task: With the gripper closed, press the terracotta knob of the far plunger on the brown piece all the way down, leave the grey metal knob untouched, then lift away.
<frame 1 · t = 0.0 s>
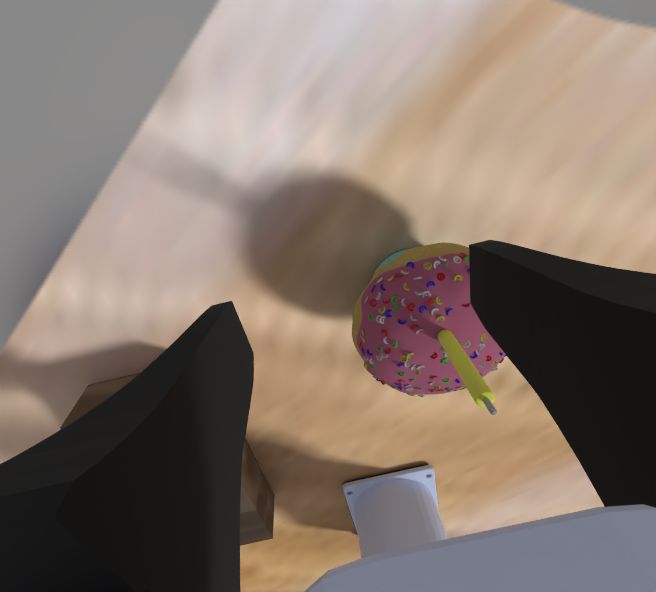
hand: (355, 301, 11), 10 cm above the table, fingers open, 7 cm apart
cupcake: (409, 281, 23), on the table
brown piece: (194, 448, 28), on the table
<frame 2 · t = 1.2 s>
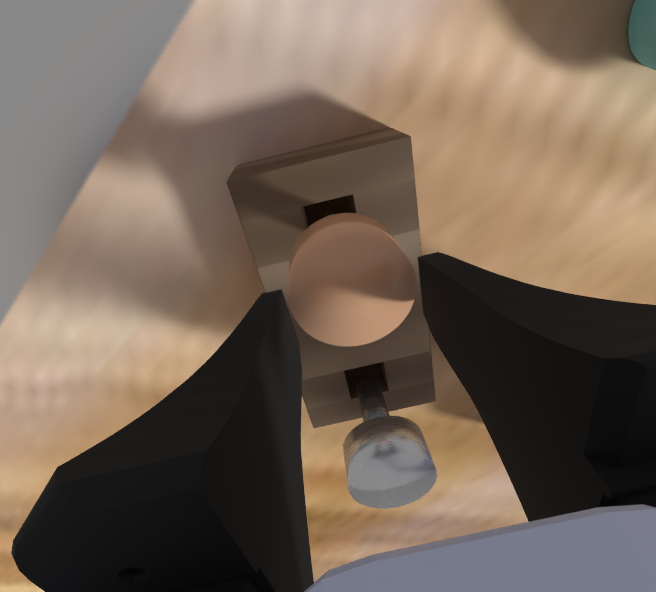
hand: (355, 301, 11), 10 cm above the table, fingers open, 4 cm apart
grey plunger: (378, 428, 19), point 7 cm above the table, slide at 0.0 cm
terracotta plunger: (341, 256, 14), point 7 cm above the table, slide at 0.0 cm
brown piece: (343, 282, 23), on the table
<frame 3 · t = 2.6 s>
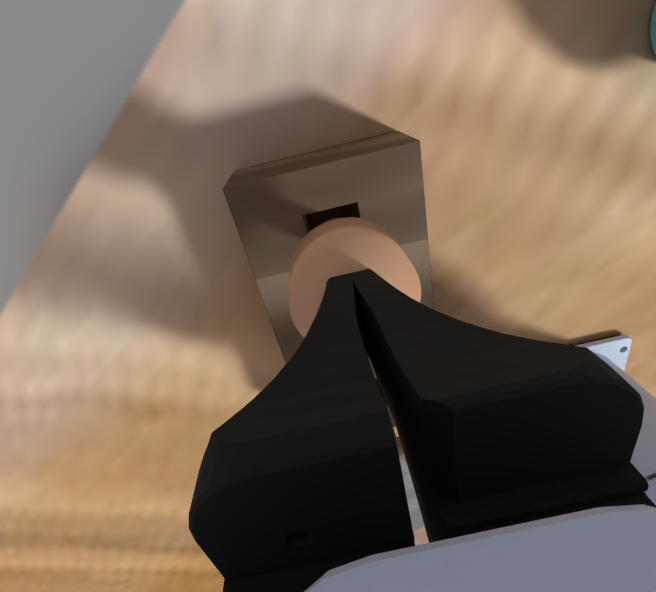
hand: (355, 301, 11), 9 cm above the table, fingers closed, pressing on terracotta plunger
grey plunger: (384, 447, 18), point 7 cm above the table, slide at 0.0 cm
terracotta plunger: (343, 261, 14), point 6 cm above the table, slide at 0.8 cm, touching gripper
brown piece: (346, 292, 22), on the table
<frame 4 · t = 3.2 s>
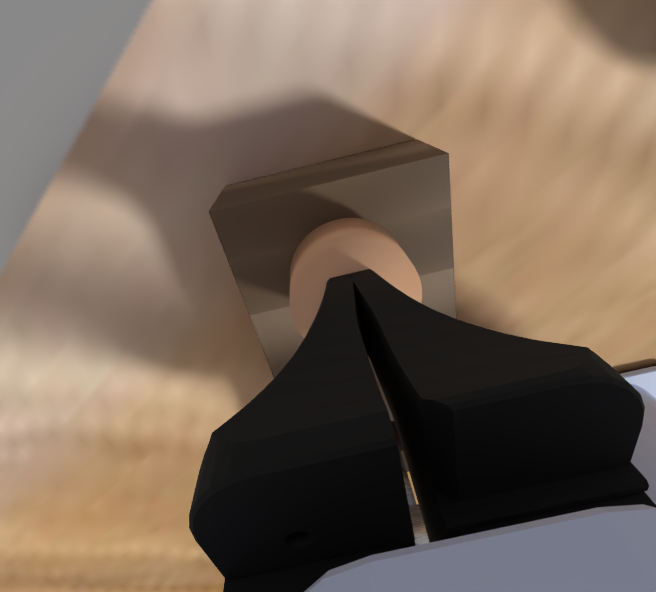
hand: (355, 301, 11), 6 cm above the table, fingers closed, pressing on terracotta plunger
grey plunger: (400, 509, 15), point 7 cm above the table, slide at 0.0 cm
terracotta plunger: (344, 261, 14), point 3 cm above the table, slide at 3.7 cm, touching gripper
brown piece: (354, 320, 19), on the table
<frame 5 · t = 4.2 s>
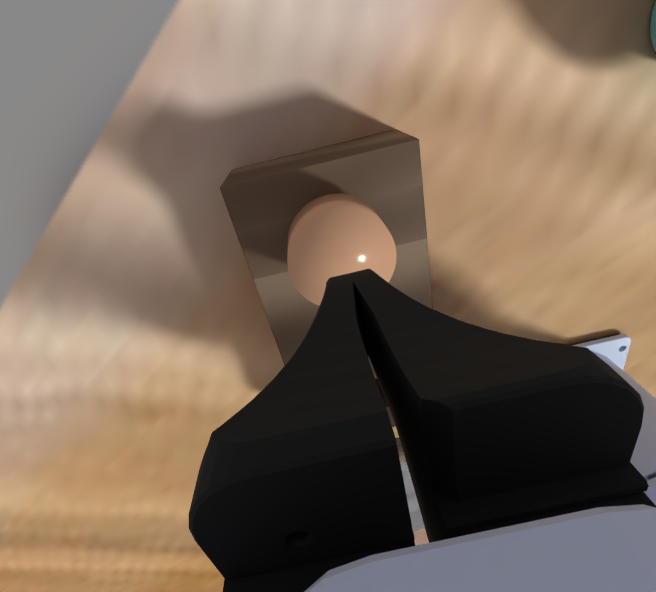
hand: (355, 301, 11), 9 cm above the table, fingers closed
grey plunger: (383, 448, 18), point 7 cm above the table, slide at 0.0 cm
terracotta plunger: (333, 233, 16), point 3 cm above the table, slide at 3.6 cm
brown piece: (345, 292, 21), on the table
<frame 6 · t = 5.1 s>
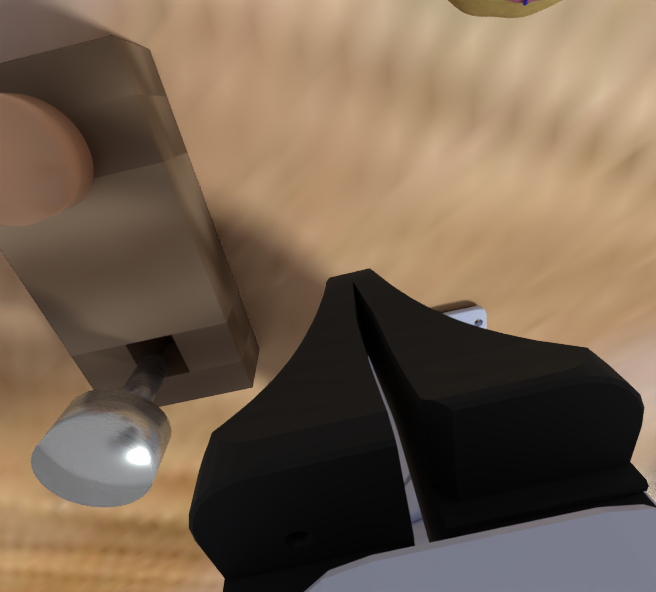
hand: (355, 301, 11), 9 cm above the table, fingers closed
grey plunger: (129, 409, 16), point 7 cm above the table, slide at 0.0 cm
terracotta plunger: (51, 153, 14), point 3 cm above the table, slide at 3.6 cm
brown piece: (142, 244, 20), on the table
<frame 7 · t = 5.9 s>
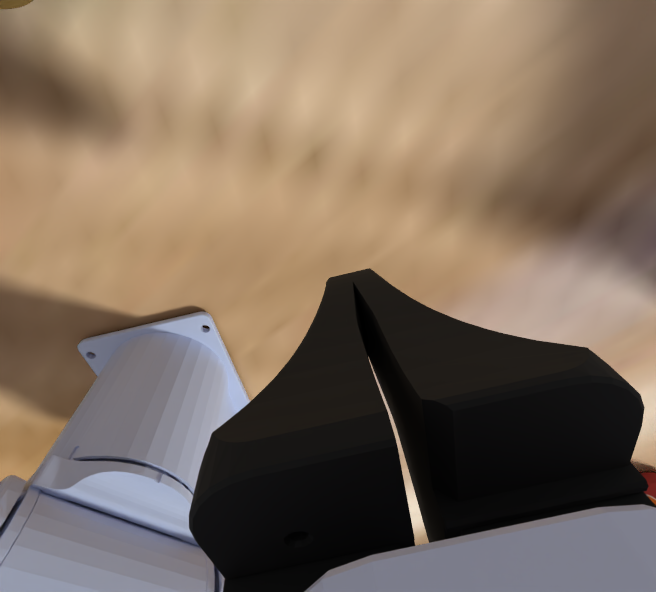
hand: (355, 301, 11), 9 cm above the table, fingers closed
smoothie: (631, 487, 36), on the table
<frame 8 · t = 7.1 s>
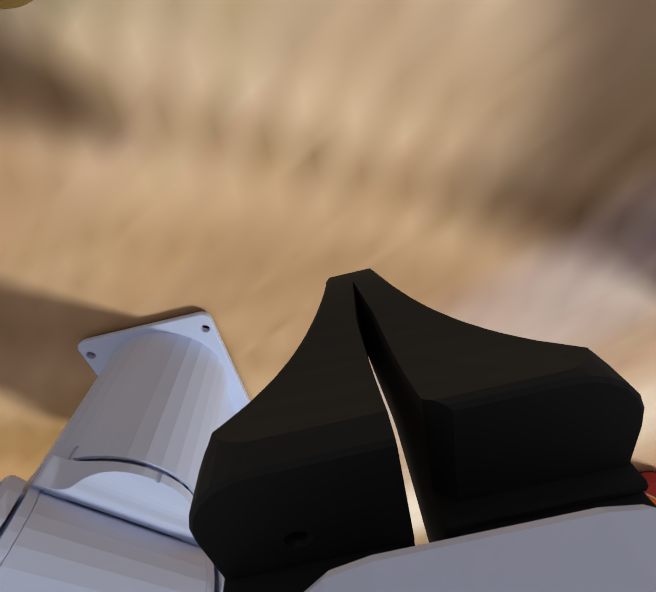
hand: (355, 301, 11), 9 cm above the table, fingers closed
smoothie: (632, 487, 36), on the table
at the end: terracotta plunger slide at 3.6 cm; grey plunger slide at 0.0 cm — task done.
